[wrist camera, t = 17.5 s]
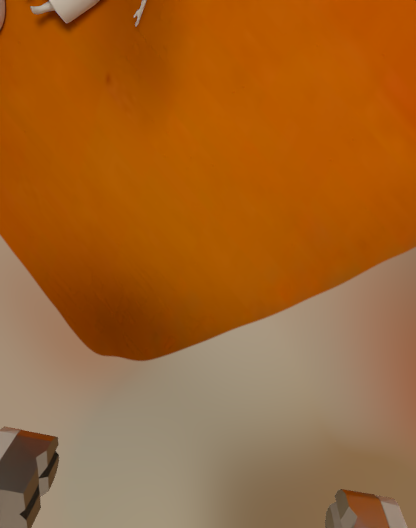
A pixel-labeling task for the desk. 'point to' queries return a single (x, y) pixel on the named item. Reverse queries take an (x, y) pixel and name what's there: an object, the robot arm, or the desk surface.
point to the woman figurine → (74, 8)
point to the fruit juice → (2, 12)
